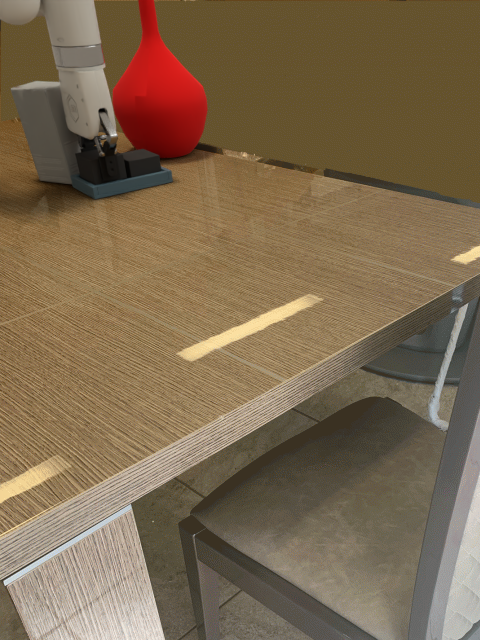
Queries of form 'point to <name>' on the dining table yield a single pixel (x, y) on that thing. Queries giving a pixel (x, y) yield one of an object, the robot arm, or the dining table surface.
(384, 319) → the dining table surface
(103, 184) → the tray
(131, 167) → the seated pad
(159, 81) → the vase
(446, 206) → the dining table surface
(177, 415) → the dining table surface
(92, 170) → the loose pad
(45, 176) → the cosmetic box
